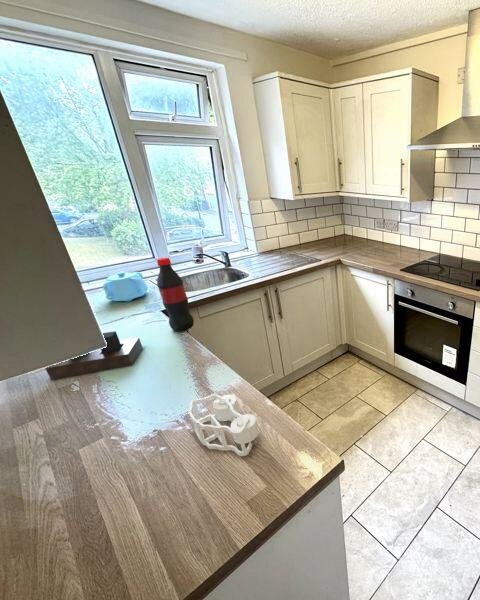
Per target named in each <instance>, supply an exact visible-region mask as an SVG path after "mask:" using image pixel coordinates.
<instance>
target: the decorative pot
mask: <svg viewBox="0 0 480 600" xmlns="http://www.w3.org/2000/svg"><path fill="white" fill-rule="evenodd" d="M102 289H103V290H104V293H105V299H107V300H109V301H110V300H111V301H115V302H126V303H127V302H131V301H133V300H134V299H136V298H137V299H138V298H141V297H143V296H144V295H145V294H147V292H148V286H147V283H146V282H145V281H144V276H143V274H142V272H139V271H134V272H125V271H123V270H122V271H118V272H116V274H114V275H109V276H107V277H106V281H105V282H104V283H102Z"/></svg>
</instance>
